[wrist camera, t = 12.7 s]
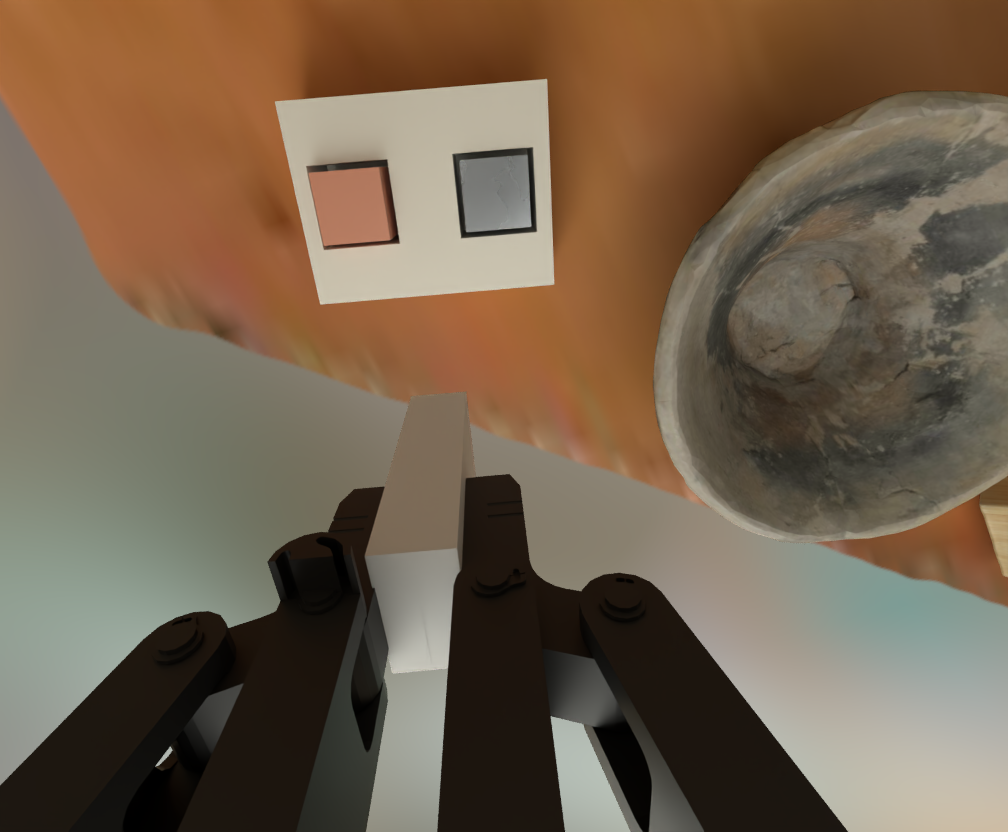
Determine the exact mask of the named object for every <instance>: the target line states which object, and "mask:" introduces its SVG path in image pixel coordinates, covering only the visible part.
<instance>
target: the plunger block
mask: <svg viewBox="0 0 1008 832" xmlns="http://www.w3.org/2000/svg"><path fill="white" fill-rule="evenodd" d="M275 105H276V109H277V113H278V118H279V122H280V127H281V131H282V136H283V140H284V145H285V149H286V154H287V158H288V162H289V167H290V171H291V176H292V180H293V185H294V189H295V194H296V198H297V203H298V207H299V212H300V216H301V220H302V225H303V229H304V234H305V238H306V243H307V247H308V252H309V256H310V261H311V265H312V269H313V274H314V278H315V283H316V287H317V292H318V296H319V301H320V304H332V303H343V302H355V301H367V300H379V299H391V298H402V297H414V296H426V295H438V294H449V293H461V292H473V291H485V290H497V289H508V288H520V287H532V286H544V285H554V262H553V234H552V205H551V177H550V148H549V119H548V91H547V79H541V80H529V81H517V82H505V83H493V84H481V85H469V86H457V87H445V88H433V89H421V90H408V91H396V92H384V93H372V94H360V95H348V96H336V97H324V98H312V99H300V100H288V101H276V102H275ZM517 155H528V172H529V192H530V212H531V227H524V228H512V229H500V230H488V231H476V232H466V224H465V214H464V204H463V194H462V184H461V174H460V164H459V160H469V159H481V158H493V157H505V156H517ZM373 167H388V168H389V174H390V181H391V188H392V194H393V201H394V207H395V214H396V220H397V227H398V234H397V235H396V236H395V237H393V238H392V239H391V240H387V241H375V242H363V243H351V244H339V245H327V246H324V244H323V240H322V235H321V230H320V225H319V221H318V216H317V211H316V207H315V202H314V197H313V192H312V188H311V183H310V178H309V173H313V172H325V171H337V170H349V169H361V168H373Z"/></svg>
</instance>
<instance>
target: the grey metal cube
mask: <svg viewBox="0 0 1008 832" xmlns="http://www.w3.org/2000/svg"><path fill="white" fill-rule="evenodd" d="M459 164H460V174H461V184H462V194H463V204H464V214H465V224H466V232H476V231H488V230H500V229H512V228H524V227H531V212H530V192H529V172H528V155H517V156H505V157H493V158H481V159H469V160H459Z"/></svg>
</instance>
